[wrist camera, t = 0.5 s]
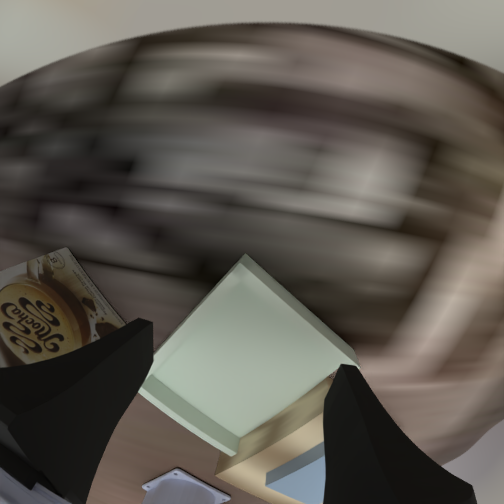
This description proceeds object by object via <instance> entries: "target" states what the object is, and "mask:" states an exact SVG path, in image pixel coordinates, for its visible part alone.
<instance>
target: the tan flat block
mask: <svg viewBox="0 0 504 504" xmlns="http://www.w3.org/2000/svg"><path fill="white" fill-rule="evenodd" d="M332 382H333V380H332V379H331V378H330V377H326V378H325V379H324V380H323V381H321V382H320V383H319V384H318V385H316V386H315V387H314V388H312V389H311V390H310V391H308V392H307V393H306V394H304V395H303V396H302V397H300V398H299V399H298V400H296V401H295V402H293V403H292V404H291V405H289V406H288V407H286V408H285V409H284V410H282V411H281V412H279V413H278V414H276V415H275V416H274V417H272V418H271V419H269V420H268V421H266V422H265V423H263V424H262V425H260V426H259V427H257V428H255V429H254V430H252V431H251V432H249V433H248V434H246V435H244V436H243V437H241V438H240V441H239V446H238V451H237V454H235V455H233V456H232V457H231V456H229V455H228V454H226V453H224V452H222V451H221V453H220V457H219V461H218V464H217V468H216V472H215V476H216V477H218V478H220V479H222V480H224V481H225V482H227V483H229V484H231V485H233V486H235V487H237V488H239V489H241V490H243V491H245V492H248V493H250V494H252V495H254V496H256V497H258V498H261V499H263V500H265V501H268V502H270V503H272V504H305V503H303V502H300V501H298V500H295V499H293V498H291V497H288V496H286V495H284V494H281V493H279V492H277V491H275V490H272V489H270V488H268V487H266V486H265V482H266V473H267V472H269V471H271V470H273V469H275V468H277V467H279V466H281V465H283V464H285V463H287V462H289V461H290V460H292V459H294V458H296V457H298V456H299V455H301V454H303V453H305V452H306V451H308V450H310V449H311V448H313V447H315V446H316V445H318V444H320V443H321V442H323V441H324V435H323V409H324V399H325V397H326V395H327V393H328V391H329V388H330V386H331V384H332ZM320 504H323V503H320Z"/></svg>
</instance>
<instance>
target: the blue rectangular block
mask: <svg viewBox="0 0 504 504" xmlns="http://www.w3.org/2000/svg"><path fill="white" fill-rule="evenodd" d="M265 486H266V487H268V488H270V489H272V490H275V491H277V492H279V493H281V494H284V495H286V496H288V497H291V498H293V499H295V500H298V501H300V502H303V503H305V504H320V503H323V499H324V488H325V452H324V441H323V442H321V443H320V444H318V445H316V446H315V447H313V448H311V449H310V450H308V451H306V452H305V453H303V454H301V455H299V456H298V457H296V458H294V459H292V460H290V461H289V462H287V463H285V464H283V465H281V466H279V467H277V468H275V469H273V470H271V471H269V472H267V473H266V482H265Z"/></svg>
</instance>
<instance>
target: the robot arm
mask: <svg viewBox="0 0 504 504" xmlns="http://www.w3.org/2000/svg"><path fill="white" fill-rule="evenodd" d="M153 362H154V354H153V322H151V321H148V320H144V319H141V318H138V319H136V320H134V321H132V322H130V323H128V324H126V325H124V326H123V327H121V328H119V329H117V330H115V331H113V332H111V333H110V334H108V335H106V336H104V337H102V338H100V339H98V340H96V341H94V342H92V343H89V344H87V345H85V346H83V347H81V348H79V349H76V350H74V351H71V352H69V353H66V354H63V355H60V356H57V357H54V358H51V359H47V360H43V361H39V362H35V363H31V364H26V365H20V366H12V367H2V368H0V504H86V501H87V497H88V494H89V491H90V488H91V485H92V481H93V479H94V476H95V473H96V471H97V468H98V465H99V463H100V460H101V458H102V455H103V453H104V451H105V448H106V446H107V444H108V442H109V440H110V437H111V435H112V433H113V431H114V429H115V427H116V425H117V424H118V422H119V420H120V419H121V417H122V416H123V414H124V412H125V411H126V409H127V408H128V406H129V405H130V403H131V402H132V400H133V399H134V397H135V395H136V394H137V392H138V391H139V389H140V388H141V386H142V384H143V383H144V381H145V379H146V377H147V375H148V373H149V371H150V368H151V366H152V364H153ZM323 435H324V452H325V488H324V499H323V504H477V501H476V497H475V493H474V490H473V487H472V485H471V484H469V483H467V482H465V481H463V480H462V479H460V478H458V477H456V476H454V475H453V474H451V473H449V472H448V471H447V470H445V469H444V468H442V467H441V466H440V465H438V464H437V463H436V462H434V461H433V460H432V459H431V458H429V457H428V456H427V455H426V454H425V453H424V452H423V451H421V450H420V449H419V448H418V447H417V446H416V445H415V444H414V443H413V442H412V441H411V440H410V439H409V438H408V437H407V436H406V435H405V433H404V432H403V431H402V430H401V429H400V428H399V427H398V426H397V424H396V423H395V422H394V420H393V419H392V418H391V417H390V415H389V414H388V413H387V411H386V410H385V409H384V407H383V406H382V404H381V403H380V402H379V400H378V399H377V397H376V396H375V394H374V393H373V391H372V390H371V388H370V387H369V385H368V383H367V382H366V380H365V379H364V377H363V376H362V374H361V373H360V371H359V369H358V368H357V366H355V365H348V364H340V367H339V369H338V371H337V373H336V376H335V378H334V380H333V382H332V384H331V386H330V388H329V391H328V393H327V395H326V397H325V399H324V409H323ZM142 488H143V489H145V490H146V491H147V493H146V495H145V498H144V500H143V502H142V504H220V503H223V502H226V501H229V500H230V499H231V497H230V496H229V495H227V494H225V493H223V492H221V491H219V490H217V489H215V488H213V487H211V486H209V485H207V484H205V483H204V482H202V481H200V480H198V479H196V478H195V477H193V476H191V475H189V474H188V473H186V472H184V471H182V470H181V469H174V470H172V471H170V472H168V473H166V474H164V475H162V476H160V477H158V478H156V479H154V480H152V481H150V482H147V483H145V484H143V485H142Z"/></svg>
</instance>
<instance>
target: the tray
mask: <svg viewBox="0 0 504 504" xmlns="http://www.w3.org/2000/svg"><path fill="white" fill-rule="evenodd" d="M153 354H154V362H153V364H152V366H151V368H150V371H149V373H148V375H147V377H146V379H145V381H144V383H143V384H142V386H141V388H140V389H139V391H138V393H140V394H141V395H142V396H143V397H145V398H146V399H147V400H148V401H150V402H151V403H152V404H154V405H155V406H156V407H158V408H159V409H160V410H162V411H163V412H164V413H166V414H167V415H168V416H170V417H171V418H172V419H174V420H175V421H177V422H178V423H179V424H181V425H182V426H184V427H185V428H187V429H188V430H190V431H191V432H193V433H194V434H196V435H197V436H199V437H200V438H202V439H203V440H205V441H206V442H208V443H209V444H211V445H213V446H214V447H216V448H218V449H219V450H221V451H222V452H224V453H226V454H228V455H229V456H231V457H232V456H233V455H235V454H237V451H238V446H239V441H240V438H241V437H243V436H244V435H246V434H248V433H249V432H251V431H252V430H254V429H255V428H257V427H259V426H260V425H262V424H263V423H265V422H266V421H268V420H269V419H271V418H272V417H274V416H275V415H276V414H278V413H279V412H281V411H282V410H284V409H285V408H286V407H288V406H289V405H291V404H292V403H293V402H295V401H296V400H298V399H299V398H300V397H302V396H303V395H304V394H306V393H307V392H308V391H310V390H311V389H312V388H314V387H315V386H316V385H318V384H319V383H320V382H321V381H323V380H324V379H325V378H326V377H328V376H329V375H330V374H331V373H333V372H334V371H335V370H336V369H338V368H339V367H340V364H348V365H355V366H357V368H358V369H360V368H361V367H360V365H359V362H358V359H357V356H356V354H355V351H354V349H352V348H351V347H350V346H349V345H348V344H347V343H346V342H345V341H343V340H342V339H341V338H340V337H339V336H338V335H337V334H335V333H334V332H333V331H332V330H331V329H330V328H329V327H328V326H326V325H325V324H324V323H323V322H322V321H321V320H320V319H319V318H317V317H316V316H315V315H314V314H313V313H312V312H311V311H310V310H308V309H307V308H306V307H305V306H304V305H303V304H302V303H301V302H300V301H298V300H297V299H296V298H295V297H294V296H293V295H292V294H291V293H289V292H288V291H287V290H286V289H285V288H284V287H283V286H282V285H280V284H279V283H278V282H277V281H276V280H275V279H274V278H273V277H271V276H270V275H269V274H268V273H267V272H266V271H265V270H264V269H263V268H261V267H260V266H259V265H258V264H257V263H256V262H255V261H254V260H253V259H251V258H250V257H249V256H248V255H247V254H246V253H245V254H244V255H243V256H242V257H241V258H240V259H239V261H238V262H237V263H236V264H235V265H234V266H233V267H232V268H231V269H230V270H229V271H228V272H227V274H226V275H225V276H224V277H223V278H222V279H221V280H220V281H219V282H218V283H217V284H216V285H215V287H214V288H213V289H212V290H211V291H210V292H209V293H208V294H207V295H206V296H205V297H204V299H203V300H202V301H201V302H200V303H199V304H198V305H197V306H196V307H195V308H194V309H193V310H192V312H191V313H190V314H189V315H188V316H187V317H186V318H185V319H184V320H183V321H182V322H181V324H180V325H179V326H178V327H177V328H176V329H175V330H174V331H173V332H172V333H171V334H170V336H169V337H168V338H167V339H166V340H165V341H164V342H163V343H162V344H161V345H160V346H159V348H158V349H157V350H156V351H155V352H154V353H153Z"/></svg>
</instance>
